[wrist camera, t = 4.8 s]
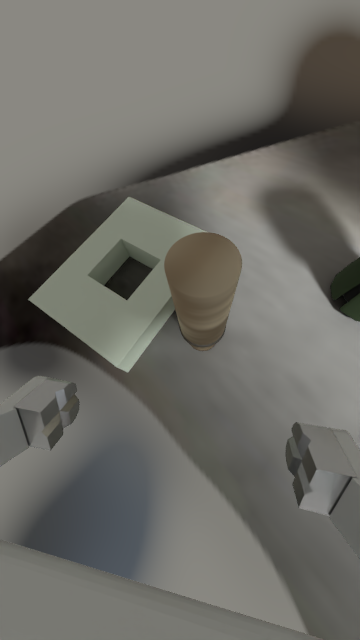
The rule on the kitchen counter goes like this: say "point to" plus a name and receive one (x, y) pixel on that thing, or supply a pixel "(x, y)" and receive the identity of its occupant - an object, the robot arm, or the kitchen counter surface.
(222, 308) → the beech peg
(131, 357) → the sage board
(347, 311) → the character mug
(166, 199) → the kitchen counter surface
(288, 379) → the kitchen counter surface
